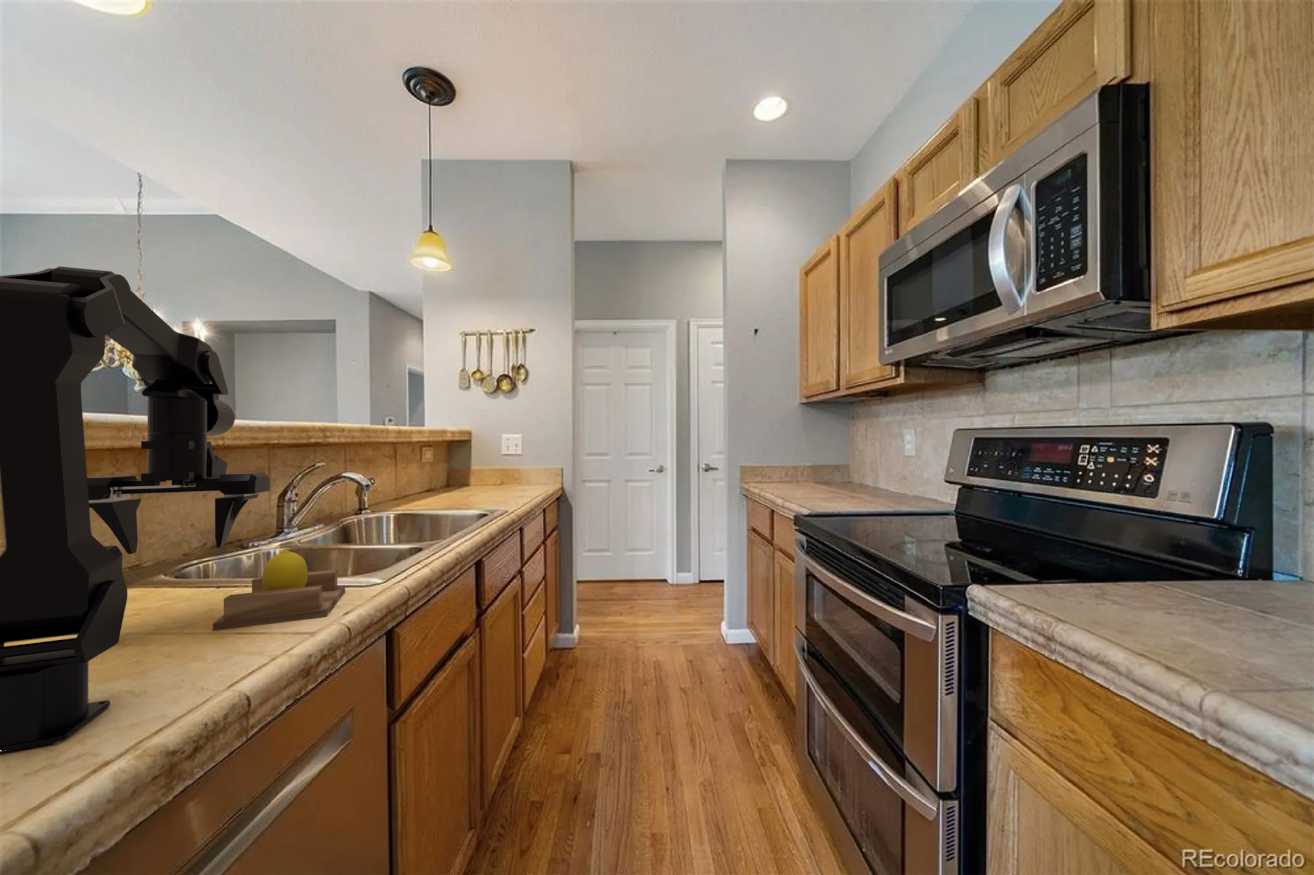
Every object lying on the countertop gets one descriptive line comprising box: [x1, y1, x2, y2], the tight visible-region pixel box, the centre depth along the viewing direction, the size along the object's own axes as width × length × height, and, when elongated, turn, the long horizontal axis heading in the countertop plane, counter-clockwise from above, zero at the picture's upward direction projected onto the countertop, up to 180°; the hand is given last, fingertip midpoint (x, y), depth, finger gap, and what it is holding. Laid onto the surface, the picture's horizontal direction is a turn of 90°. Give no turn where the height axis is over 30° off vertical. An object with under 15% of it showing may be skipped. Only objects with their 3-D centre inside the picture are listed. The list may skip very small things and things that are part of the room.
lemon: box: [262, 549, 309, 591], centre depth 74 cm, size 6×6×8 cm
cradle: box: [212, 569, 346, 631], centre depth 74 cm, size 13×13×4 cm
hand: (177, 550), depth 65 cm, fingers open, 9 cm apart
